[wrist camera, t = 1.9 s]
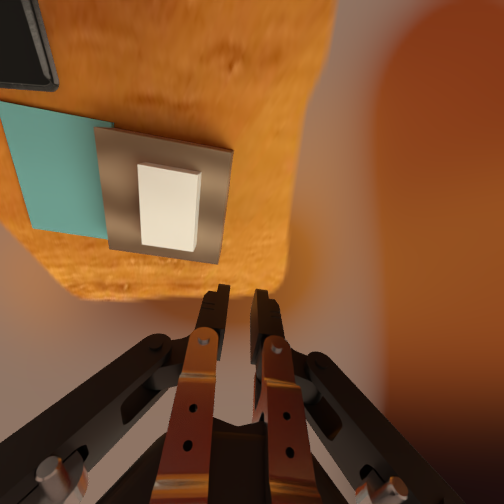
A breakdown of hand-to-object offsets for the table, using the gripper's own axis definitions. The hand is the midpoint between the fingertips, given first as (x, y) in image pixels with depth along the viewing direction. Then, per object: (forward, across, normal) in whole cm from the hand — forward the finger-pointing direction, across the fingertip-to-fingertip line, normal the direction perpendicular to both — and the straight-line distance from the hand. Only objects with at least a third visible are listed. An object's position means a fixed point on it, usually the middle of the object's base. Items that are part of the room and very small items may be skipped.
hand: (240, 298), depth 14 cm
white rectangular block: (+14, +8, 0) cm, 16 cm away
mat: (+19, +22, 0) cm, 29 cm away
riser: (+19, +10, 0) cm, 21 cm away
